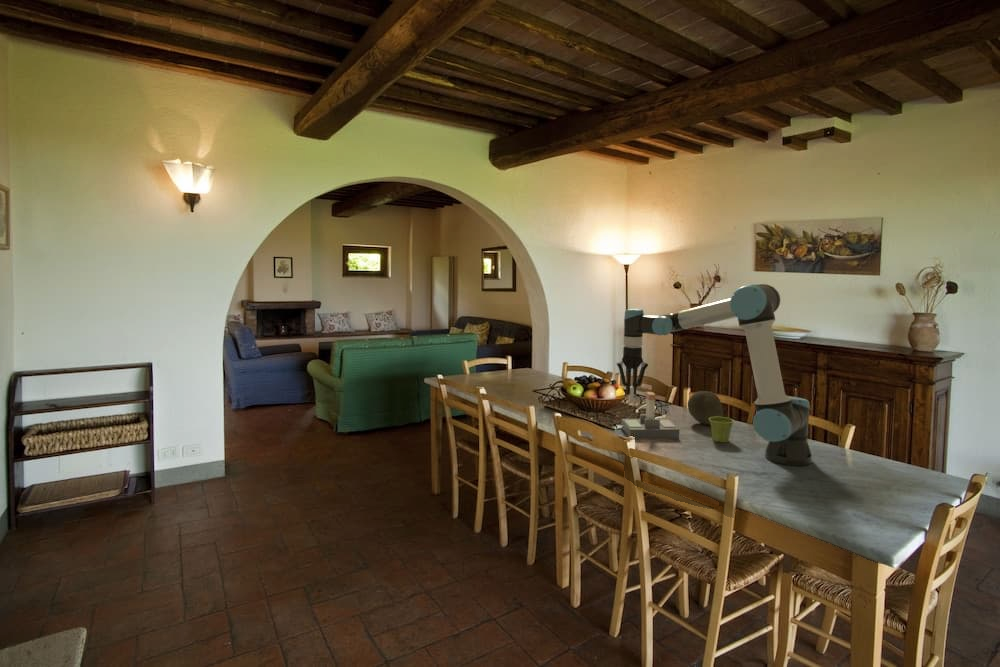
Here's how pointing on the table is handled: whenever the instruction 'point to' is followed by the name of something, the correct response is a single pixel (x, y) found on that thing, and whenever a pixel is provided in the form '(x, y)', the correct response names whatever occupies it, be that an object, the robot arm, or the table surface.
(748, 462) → the table surface
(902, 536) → the table surface
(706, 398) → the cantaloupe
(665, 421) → the switch box
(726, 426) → the plant pot
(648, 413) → the toggle lever
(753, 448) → the table surface
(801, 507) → the table surface
